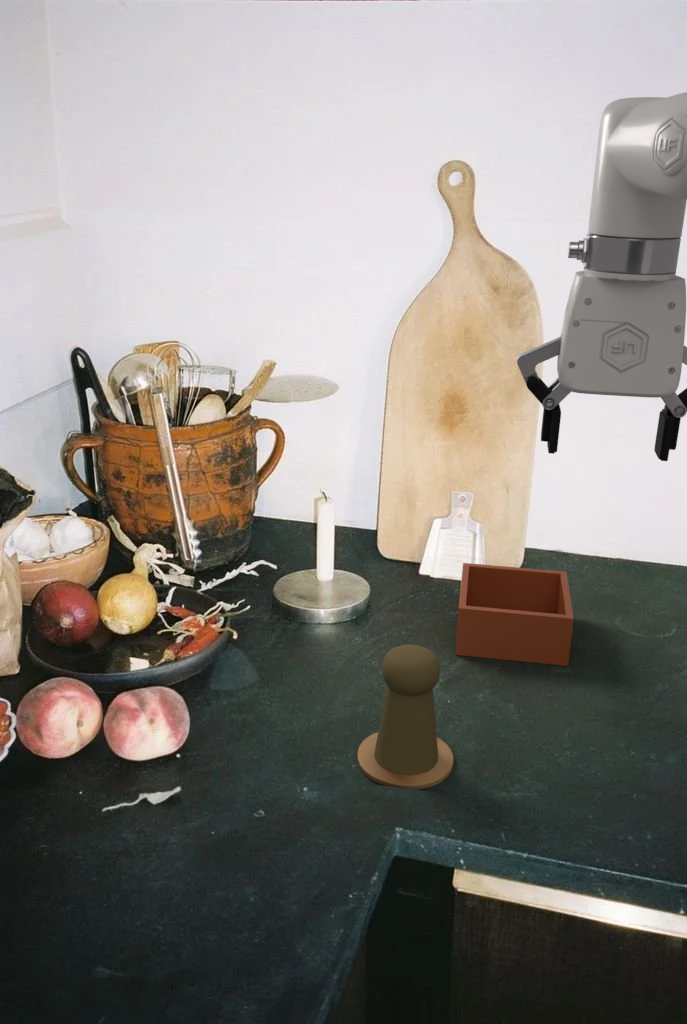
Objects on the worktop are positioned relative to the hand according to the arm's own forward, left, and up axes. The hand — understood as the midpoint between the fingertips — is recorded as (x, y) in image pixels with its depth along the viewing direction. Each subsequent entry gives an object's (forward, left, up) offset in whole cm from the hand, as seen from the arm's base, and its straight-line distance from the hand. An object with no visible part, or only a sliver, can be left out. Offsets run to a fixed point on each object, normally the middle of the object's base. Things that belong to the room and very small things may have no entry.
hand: (605, 452), depth 85 cm
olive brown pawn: (+16, +10, -28) cm, 34 cm away
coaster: (+16, +10, -28) cm, 34 cm away
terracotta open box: (+6, -17, -28) cm, 34 cm away
